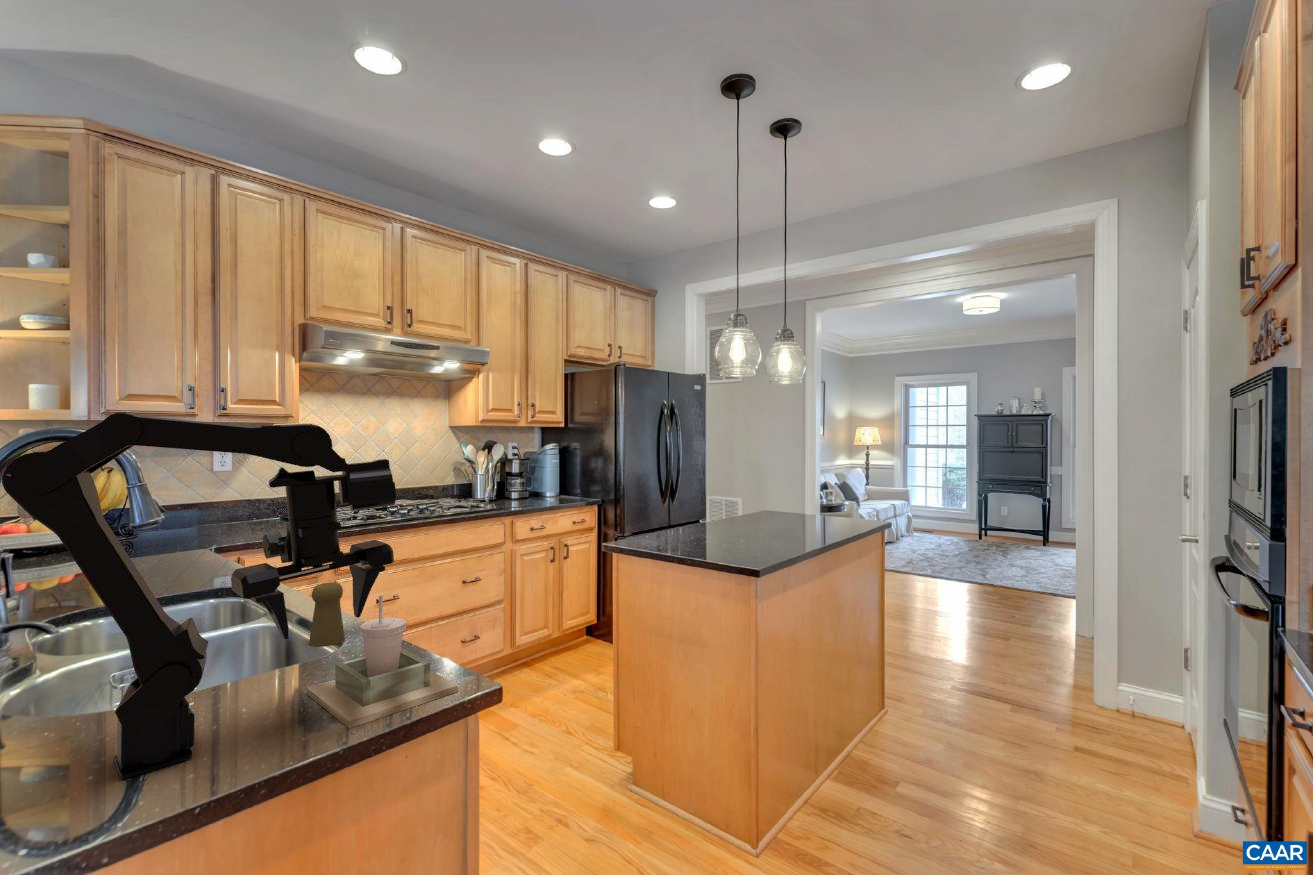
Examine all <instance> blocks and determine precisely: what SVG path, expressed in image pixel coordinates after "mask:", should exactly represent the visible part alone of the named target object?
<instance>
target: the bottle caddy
mask: <svg viewBox="0 0 1313 875" xmlns="http://www.w3.org/2000/svg"><path fill="white" fill-rule="evenodd" d="M334 678H335V679H332V680H329V681H325V682H321V683H318V684H313V685H310V686H307V687H306V695H307V696H308V697H309V698H311V699H312V700H314V701H315V703H317V704H318V705H319V706H321V707H322V708H323V709H325V710H326V711H327V712H328V713H329V714H331V715H332V716H333V717H334V718H335V719H337V720H338V721H339V722H341V723H342V724H343V725H344V726H346V728H348V729H352V728H355V727H358V726H361V725H363V724H367V723H370V722H372V721H376V720H378V719H382V718H384V717H387V716H390V715H393V714H396V713H399V712H402V711H405V710H408V709H411V708H415V707H416V706H420V705H422V704H426V703H429V702H431V701H434V700H438V699H440V698H443V697H446V696H449V695H453V694H455V693H458V692H459V684H457V683H455V682H453V681H452V680H451V681H450V680H449V679H448V678H445V677H443V676H442V675H440V674H438V673H436V672H434V671H432V670H431V662H429V661H427V660H425V659H424V658H421V657H420V656H418V655H416V654H414V653H412V652H410V651H408V650H406V649H404V648H402V647H401V652H400V659H399V666H398V670H394V671H391V672H387V673H384V674H380V675H377V676H373V677H370V678H368V675H367V667H366V659H365V656H362V657H361V656H360V657H356V658H354V659H349V660H345V661H341V662H339V663H338V662H337V663H335V677H334Z"/></svg>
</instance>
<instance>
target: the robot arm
mask: <svg viewBox="0 0 1313 875" xmlns="http://www.w3.org/2000/svg"><path fill="white" fill-rule="evenodd" d="M134 446H138V447H139V446H140V447H149V448H150V447H153V448H165V449H177V450H178V449H179V450H191V451H203V452H205V451H206V452H217V453H231V454H245V455H250V456H255V457H259V458H263V459H267V460H270V461H275V462H280V463H284V464H288V465H293V466H298V467H301V468H302V467H304V468H309V467H310V468H312V467H317V466H318V467H321V468H323V469H324V470H327V471H329V472H331V473H341V474H333V475H322V476H321V475H319V476H317V475H316V474H315V470H314V469H313V470H301V471H291V472H290V471H288V470H287V469H286V468H284V467H283V466H281V467H279V469H278V471H277V472H276V474H275V475H274V476H273V477H271V479H269V480H268V486H269V488H272V489H274V488H275V489H276V488H283V487H285V493H286V494H285V495H286V496H285V497H286V505H287V506H286V507H287V517H288V523H287V524H286V535H285V536H284V535H283V536H282V534H281V532H280V531H279V532H278V531H277V532H272V533H267V534H264V535H263V536H262V546H263V554H264V557H265V558H266V559H268V560H269V559H272V558H277V557H280V561H281V563H282V564H284V563H285V564H287V563H292V564H290V565H289V564H288V565H284V566H280V567H274V566H272V564H271V565H270V564H269V563H266V562H263V563H258V564H255V565H249V566H245V567H240V568H236V569H234V571H233V572H232V573H231V576H230V584H231V591H233V593H234V594H236V595H237V596H239V597H241V598H242V599H251V600H252V601H254V603H261V604H262V605H263V606H264V607H265V608H266V610H267V612H268V613H269V615H270V617H271V619H272V621H273V624H275V626H276V628H277V630H278V632H279V634H280V635H281V638H282V639H283V640H288V639H289V624H288V617H287V616H288V615H287V609H286V601H285V595H284V594H285V593H284V592H283V591H281V590H279V589H278V588H279V587H280V585H281V582H285V581H290V580H293V579H298V578H303V577H306V576H311V575H316V574H319V573H323V572H326V571H332V570H336V569H341V568H345V567H348V568H349V572H350V574H351V577H352V607H353V608H352V609H353V614H354V615H353V616H354V617H355V618H357V619H358V618H360V617H361V616H362V613H363V611H364V609H365V606H366V602H367V600H368V598H369V595H370V593H371V590H372V588H373V585H375V582H376V580H377V579H378V577H379V575H380V573H382V572H385V571H386V565H391V564H393V563H395V560H394V559H395V557H394V550H393V547H392V546H391V545H390V544H388V543H386V542H384V541H379V540H377V539H372V540H368V541H363V542H357V543H353V544H351V545H350V548H349V551H347V552H344V551H342V550H341V549H340V535H339V531H340V530H342V525H341V524H342V522H341V521H338V513H337V504H336V503H337V502H336V489H335V482H338V493H339V494H338V495H339V500H340V503H341V506H342V505H346V504H347V506H348V507H349V509H350V511H351V512H352V511H360V510H368V509H376V508H383V507H392V506H395V505H396V498H397V496H396V495H397V492H396V490H397V489H396V483H395V481H394V479H393V473H392V470H391V466H390V460H389V459H385V458H383V459H375V460H373V461H365V462H356V463H354V462H353V463H348V462H346V458H344V457H342V456H340V454H338V453H337V452H336V451H335V450H334V448H333V441H332V438H331V435H330V433H329V432H327V431H326V429H325V428H323V427H322V426H320V425H317V424H314V423H293V424H292V423H291V424H290V423H289V424H275V425H274V424H271V425H270V424H269V425H255V426H254V425H252V426H251V425H250V426H249V425H242V424H241V425H237V424H230V423H218V422H211V421H210V422H208V421H201V420H200V421H198V420H188V419H178V418H167V417H158V416H157V417H156V416H147V415H146V416H145V415H141V414H137V413H133V412H126V411H124V412H123V411H120V412H119V411H118V412H115V413H112V414H109V415H108V416H107V417H105V418H104V419H103V420H102V421H100V422H99V423H97V424H96V425H94V426H92V427H90V428H88V429H87V430H84V431H82V432H81V433H78V434H76V435H75V436H73V437H71V438H69V439H66V440H65V441H63V442H61V443H60V444H58V445H56V446H54V447H53V448H51V449H49V450H43V451H34V452H29V453H24V454H22V455H20V456H17V457H16V458H14V459H13V460H12V461H11V462H9V464H8V465H7V466H6V468H5V470H4V472H3V473H2V476H1V483H2V488H3V489H4V491H5V492H6V493H7V494H8V496H10V498H12V500H13V501H15V502H16V503H17V504H18V506H20V508H22V509H23V510H24V511H25V512H26V513H27V514H28V515H29V516H31V518H33V519H35V520H36V521H37V522H39V523H40V524H42V526H44V527H46V528H47V529H48V530H49V531H51V532H53V534H55V536H57V537H58V538H59V540H60V542H61V543H62V545H64V548H65V550H67V551H68V554H70V556H71V558H72V559H73V561H74V562H75V563H76V565H77V566H78V568H79V569H80V571H81V572H82V574H83V575H84V577H85V579H86V580H87V582H88V583H89V584H90V586H91V588H92V589H93V590H94V592H95V593H96V595H97V597H98V598H99V599H100V601H101V602H102V603H103V605H104V606H105V607H104V608H106V610H107V611H108V612H109V614H110V615H111V617H112V619H113V620H114V621H115V622H116V624H117V627H118V628H120V629H119V630H120V631H121V632H122V633H123V635H124V636H125V638H126V640H127V644H128V648H129V654H130V658H131V662H132V666H133V670H134V672H135V675H136V678H135V679H134V680H132V681H131V683H129V684H128V686H127V689H126V690H125V692H124V694H123V695H122V698H121V699H120V701H119V703H118V705H117V707H116V709H115V716H116V717H117V733H116V735H117V736H116V738H117V739H116V740H117V742H116V743H117V745H116V747H117V750H116V755H114V756H113V761H114V762H113V763H114V764H115V766H116V769H117V772H118V774H119V777H120V779H121V780H122V779H128V778H132V777H136V776H139V775H141V774H144V773H148V772H151V771H154V770H157V769H160V768H163V767H167V766H171V765H173V764H177V763H180V762H183V761H187V760H189V759H191V758H193V752H192V749H191V748H193V747H194V746H195V713H194V711H193V710H192V709H191V707H190V702H189V701H188V700H187V699H186V698H185V697H187V696H189V695H190V694H191V693H192V692H194V690H195V689H196V688H197V687H198V686H199V684H200V682H201V680H202V678H203V675H204V672H205V666H206V662H207V656H208V655H207V649H208V646H209V640H207V639H205V638H204V637H203V636H202V635H201V634H200V633H199V630H198V628H197V626H196V623H195V620H194V619H193V617H189V618H188V619H186V620H185V621H184V622H182V623H179V622H178V621H176V620H175V619H173V618H172V617H171V616H169V615H168V614H167V613H166V612H165V610H164V608H163V606H162V605H161V604H160V602H159V601H158V599H157V598H156V596H155V595H154V593H153V592H152V590H151V588H150V587H149V585H148V584H147V582H146V581H145V579H144V577H143V576H142V575H141V573H140V571H139V569H138V568H137V567H136V565H135V564H134V562H133V560H132V559H131V558H130V556H129V555H128V553H127V552H126V550H125V548H124V547H123V545H122V543H121V542H120V540H119V538H117V536H116V535H115V532H114V531H113V530H112V528H111V527H110V525H109V524H108V522H107V520H106V519H105V517H104V514H103V511H102V508H101V507H102V506H101V501H100V498H99V494H98V493H99V492H98V489H97V487H96V484H95V482H94V478H93V476H92V474H93V473H95V472H97V471H98V470H100V469H101V468H102V467H104V466H106V465H108V464H109V463H111V462H112V461H113V460H115V459H116V458H118V457H119V456H121V455H122V454H124V453H125V452H126V451H128V450H129V449H131V448H133V447H134Z"/></svg>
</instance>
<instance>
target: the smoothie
mask: <svg viewBox="0 0 1313 875" xmlns="http://www.w3.org/2000/svg"><path fill="white" fill-rule="evenodd" d="M383 612H384V596H383V595H378V618H375V619H370V620H368V621H365V622H363V623H362V624H361V625H360V626H359V628H360V631H359V633H360V634H361V636H362V642H363V649H364V657H365V659H366V667H367V675H368V678H370V677H373V676H377V675H380V674H384V673H387V672H391V671H394V670H398V666H399V659H400V652H401V648H402V643H403V636H404V631H405V630H406V628H407V626H406V625H407V624H406V619H402V618H400V617H383V616H384V614H383Z"/></svg>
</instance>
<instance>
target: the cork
mask: <svg viewBox="0 0 1313 875" xmlns="http://www.w3.org/2000/svg"><path fill="white" fill-rule="evenodd" d="M343 594H344V588H343V586H342V584H340V583H337V582H325V583H320V584H317V585H316V586H314V588H313V589H312V593H311V598H312V601H313V602H314V608H313V616H312V621H311V626H310V627H311V628H310V634H309V640H308V645H309V646H311V647H314V648H315V647H319V648H320V647H331V646H335V645H339V644H341V643H342V642H344V641H345V639H346V638H345V631H344V623H343V616H342V608H341V601H340V600H341V599H342V597H343Z"/></svg>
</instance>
